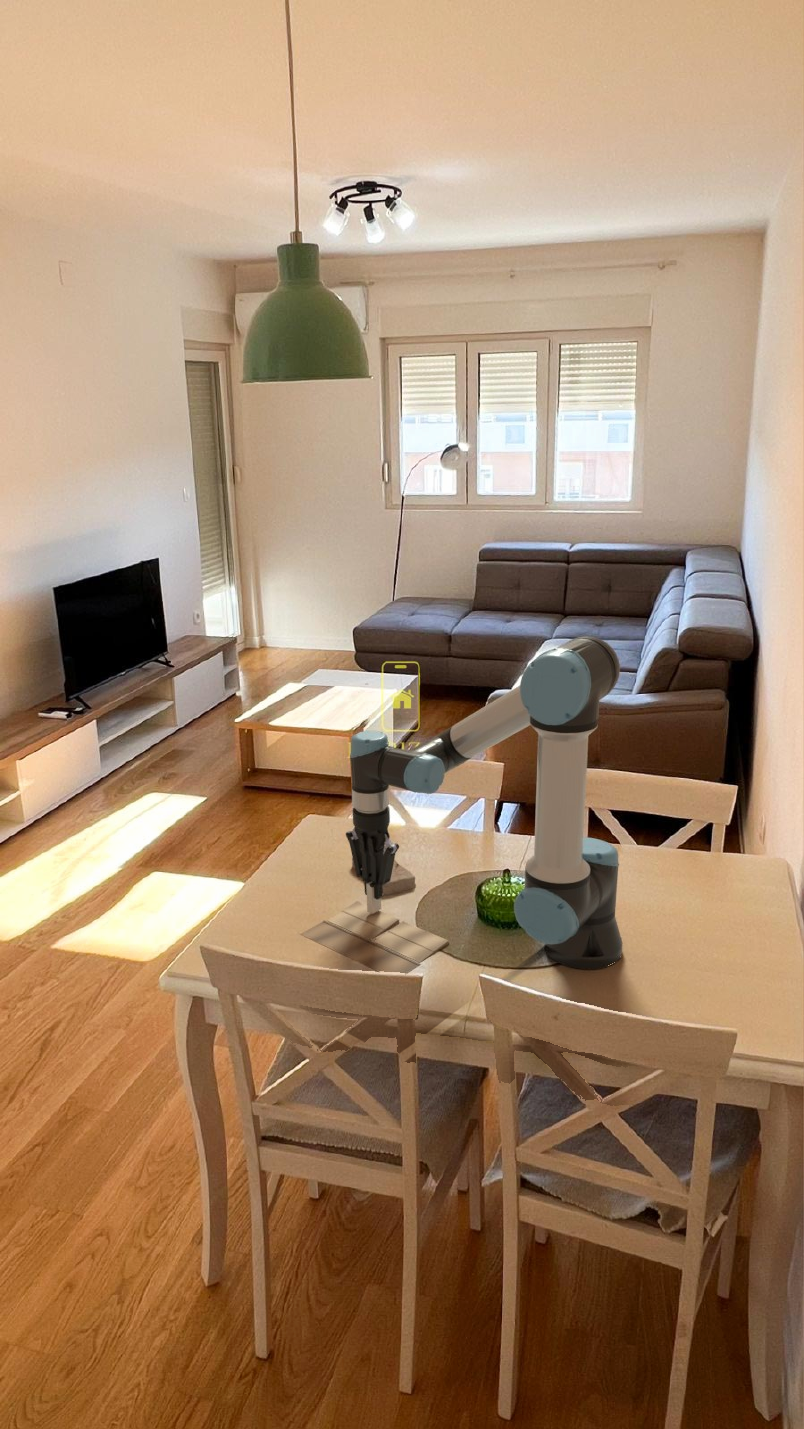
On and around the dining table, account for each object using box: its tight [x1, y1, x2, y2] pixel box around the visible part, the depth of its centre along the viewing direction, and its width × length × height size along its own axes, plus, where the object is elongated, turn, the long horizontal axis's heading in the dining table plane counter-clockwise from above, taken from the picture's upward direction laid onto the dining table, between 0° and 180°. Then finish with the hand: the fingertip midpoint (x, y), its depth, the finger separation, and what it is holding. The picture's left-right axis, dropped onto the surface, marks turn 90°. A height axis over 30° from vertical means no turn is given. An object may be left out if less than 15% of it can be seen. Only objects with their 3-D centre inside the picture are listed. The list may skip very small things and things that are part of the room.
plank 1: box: [327, 901, 400, 941], centre depth 206 cm, size 12×9×1 cm
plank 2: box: [373, 920, 450, 964], centre depth 198 cm, size 12×9×1 cm
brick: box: [351, 851, 417, 896], centre depth 225 cm, size 16×8×5 cm, turn 30°
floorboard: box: [299, 920, 422, 974], centre depth 196 cm, size 26×7×2 cm, turn 49°
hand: (374, 910), depth 208 cm, fingers closed
